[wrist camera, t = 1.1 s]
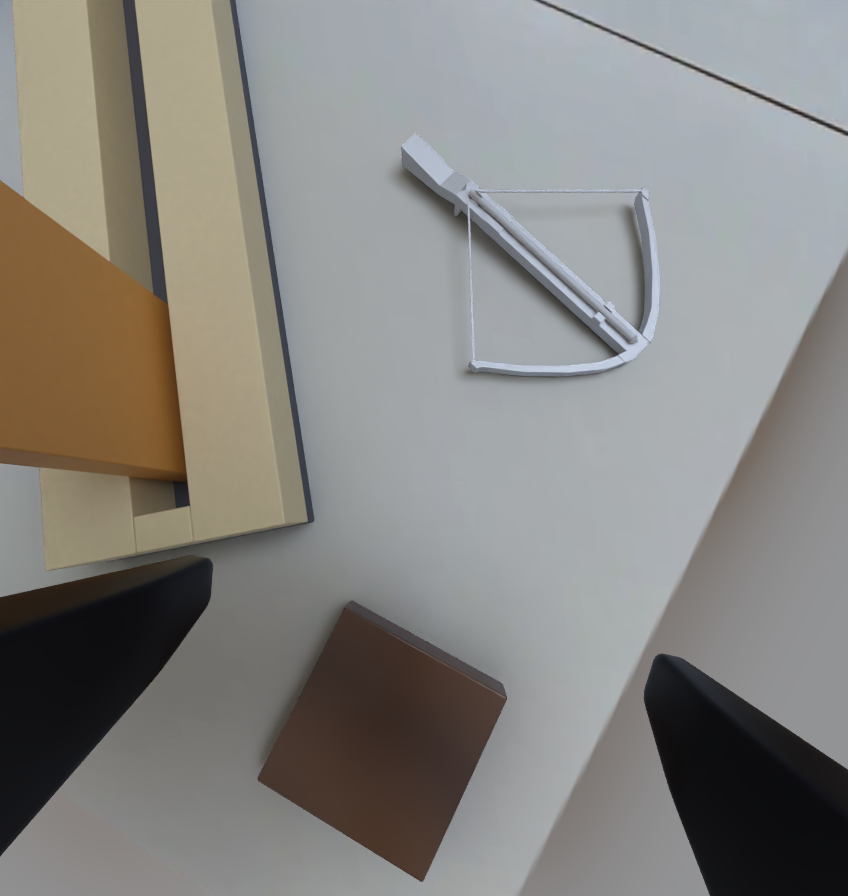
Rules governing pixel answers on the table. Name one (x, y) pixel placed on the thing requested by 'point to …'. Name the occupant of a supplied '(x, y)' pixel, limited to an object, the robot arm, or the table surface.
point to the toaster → (166, 259)
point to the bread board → (385, 738)
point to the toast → (81, 357)
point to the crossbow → (545, 264)
